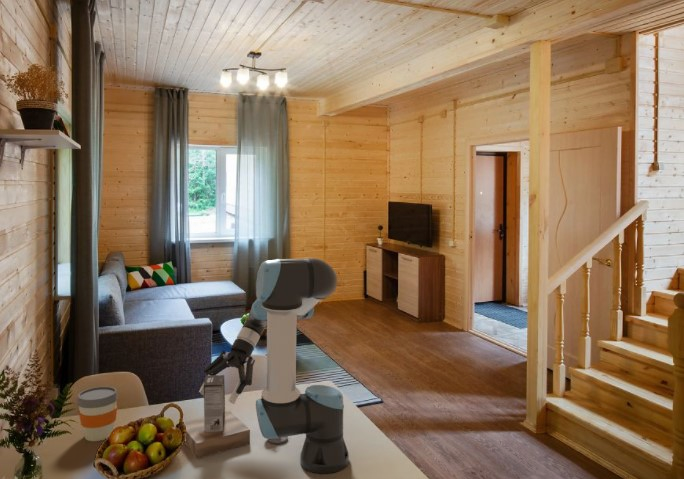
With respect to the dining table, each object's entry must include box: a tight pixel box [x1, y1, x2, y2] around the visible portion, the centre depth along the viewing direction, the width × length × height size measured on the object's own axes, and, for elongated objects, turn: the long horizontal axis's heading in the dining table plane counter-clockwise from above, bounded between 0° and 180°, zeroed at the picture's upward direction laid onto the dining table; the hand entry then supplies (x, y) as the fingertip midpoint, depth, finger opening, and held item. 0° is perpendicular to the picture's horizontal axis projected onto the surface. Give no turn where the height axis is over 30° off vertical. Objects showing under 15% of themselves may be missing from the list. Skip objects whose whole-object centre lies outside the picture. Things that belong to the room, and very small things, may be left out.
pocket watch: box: [268, 436, 289, 444], centre depth 182 cm, size 8×8×10 cm
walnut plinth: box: [182, 410, 251, 460], centre depth 181 cm, size 18×18×5 cm
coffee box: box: [203, 374, 226, 432], centre depth 180 cm, size 9×6×16 cm
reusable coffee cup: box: [76, 386, 118, 442], centre depth 184 cm, size 13×13×15 cm
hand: (216, 397), depth 181 cm, fingers open, 13 cm apart
